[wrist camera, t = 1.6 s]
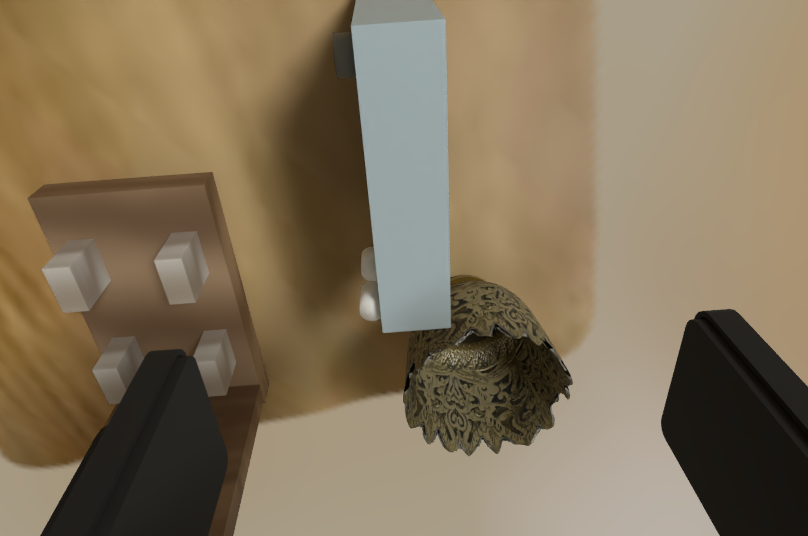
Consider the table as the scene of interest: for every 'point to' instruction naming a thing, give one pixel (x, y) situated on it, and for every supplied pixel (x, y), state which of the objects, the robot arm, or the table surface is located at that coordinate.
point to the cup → (483, 372)
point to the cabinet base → (160, 296)
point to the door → (402, 159)
